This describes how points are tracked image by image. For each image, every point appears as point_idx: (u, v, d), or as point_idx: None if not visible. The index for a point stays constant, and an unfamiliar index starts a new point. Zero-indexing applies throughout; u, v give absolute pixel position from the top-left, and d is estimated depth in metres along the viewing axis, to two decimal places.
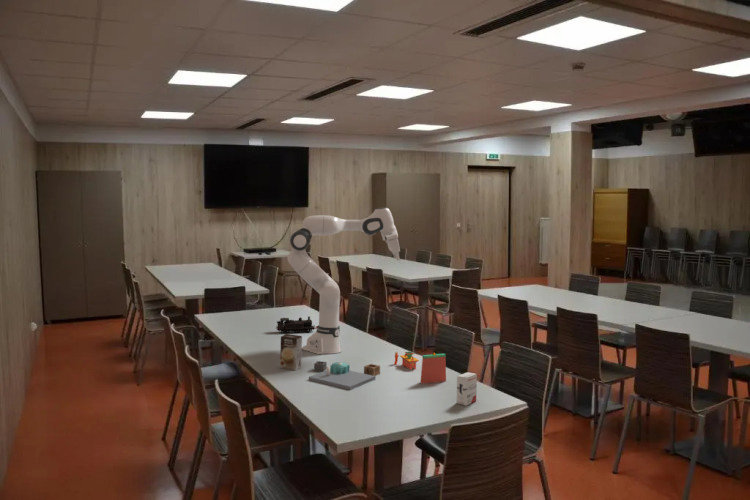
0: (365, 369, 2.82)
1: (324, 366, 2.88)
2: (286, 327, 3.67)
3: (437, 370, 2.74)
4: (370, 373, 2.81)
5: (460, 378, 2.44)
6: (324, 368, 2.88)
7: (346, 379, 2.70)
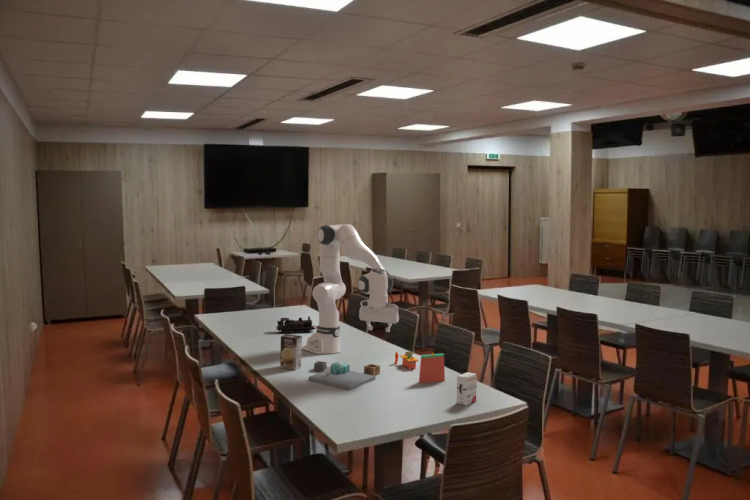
0: (365, 369, 2.82)
1: (324, 366, 2.88)
2: (286, 327, 3.67)
3: (435, 370, 2.74)
4: (370, 373, 2.81)
5: (460, 378, 2.44)
6: (324, 368, 2.88)
7: (346, 379, 2.70)
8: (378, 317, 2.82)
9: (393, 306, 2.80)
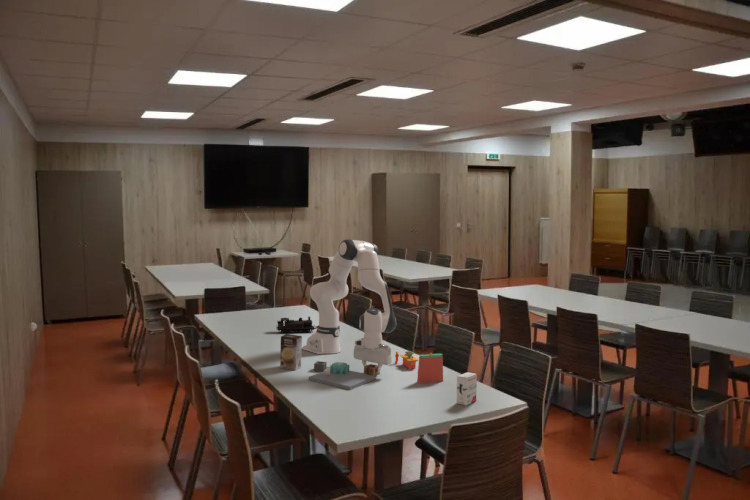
0: (365, 369, 2.82)
1: (324, 366, 2.88)
2: (286, 327, 3.67)
3: (434, 370, 2.74)
4: (370, 373, 2.81)
5: (460, 378, 2.44)
6: (324, 368, 2.88)
7: (346, 379, 2.70)
8: (371, 357, 2.82)
9: (386, 347, 2.79)
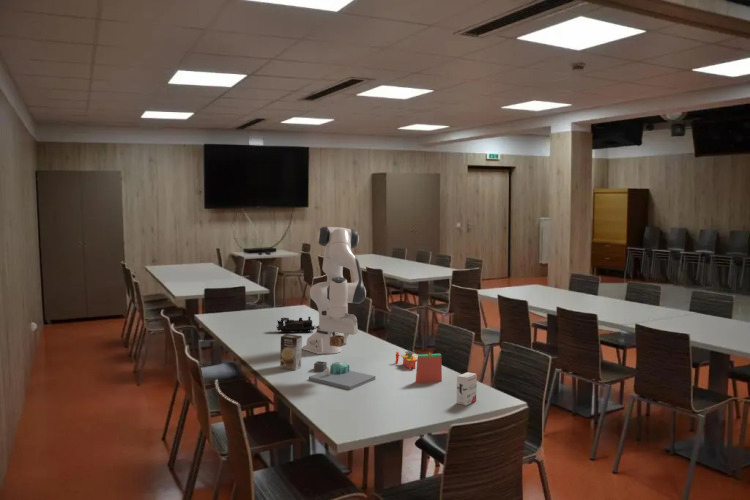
0: (331, 340, 2.73)
1: (324, 366, 2.88)
2: (286, 327, 3.67)
3: (432, 370, 2.74)
4: (336, 343, 2.72)
5: (460, 378, 2.44)
6: (324, 368, 2.88)
7: (346, 379, 2.70)
8: (337, 328, 2.73)
9: (352, 317, 2.70)
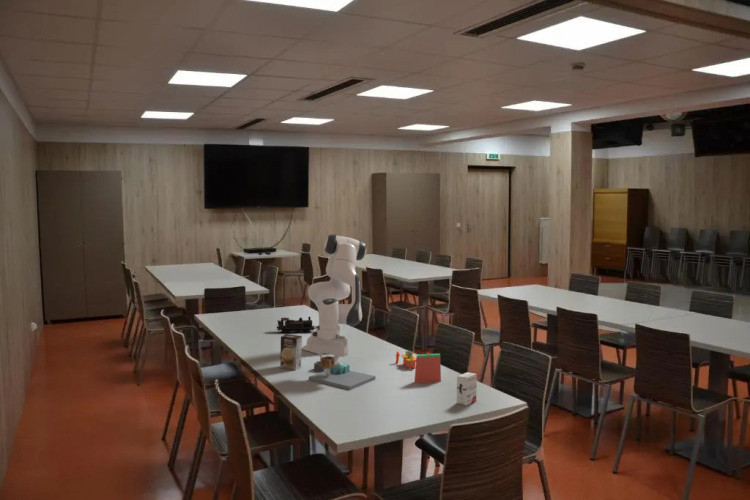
0: (321, 361, 2.73)
1: None
2: (286, 327, 3.67)
3: (431, 370, 2.74)
4: (326, 365, 2.71)
5: (460, 378, 2.44)
6: (324, 368, 2.88)
7: (346, 379, 2.70)
8: (327, 349, 2.73)
9: (342, 339, 2.69)
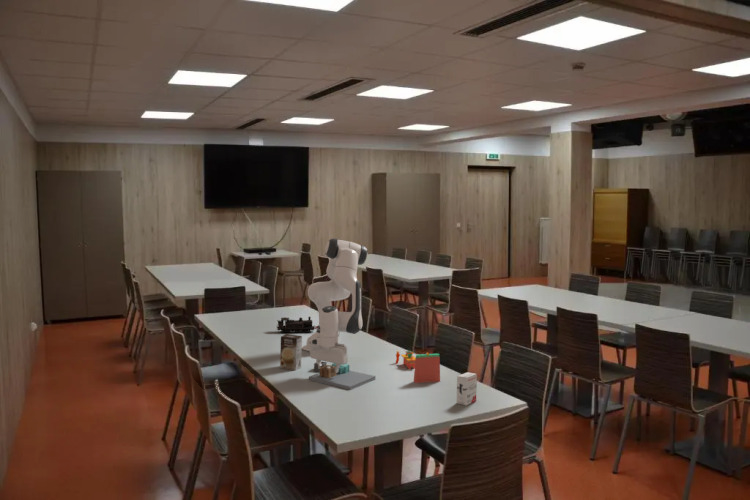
0: (321, 370, 2.73)
1: None
2: (286, 327, 3.67)
3: (431, 370, 2.74)
4: (326, 374, 2.72)
5: (460, 378, 2.44)
6: None
7: (346, 379, 2.70)
8: (327, 357, 2.73)
9: (342, 347, 2.70)
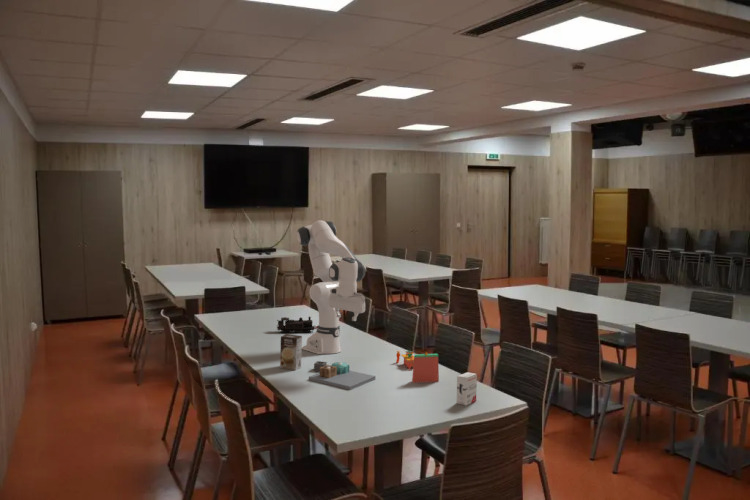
0: (321, 370, 2.73)
1: None
2: (286, 327, 3.68)
3: (429, 370, 2.74)
4: (326, 374, 2.72)
5: (460, 378, 2.44)
6: None
7: (346, 379, 2.70)
8: (345, 306, 2.85)
9: (360, 296, 2.81)
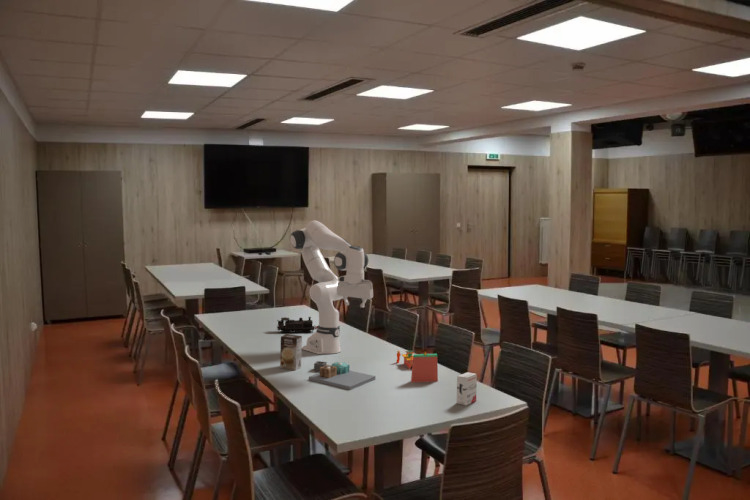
0: (321, 370, 2.73)
1: None
2: (286, 327, 3.68)
3: (428, 370, 2.74)
4: (326, 374, 2.72)
5: (460, 378, 2.44)
6: None
7: (346, 379, 2.70)
8: (353, 293, 2.91)
9: (368, 282, 2.88)
